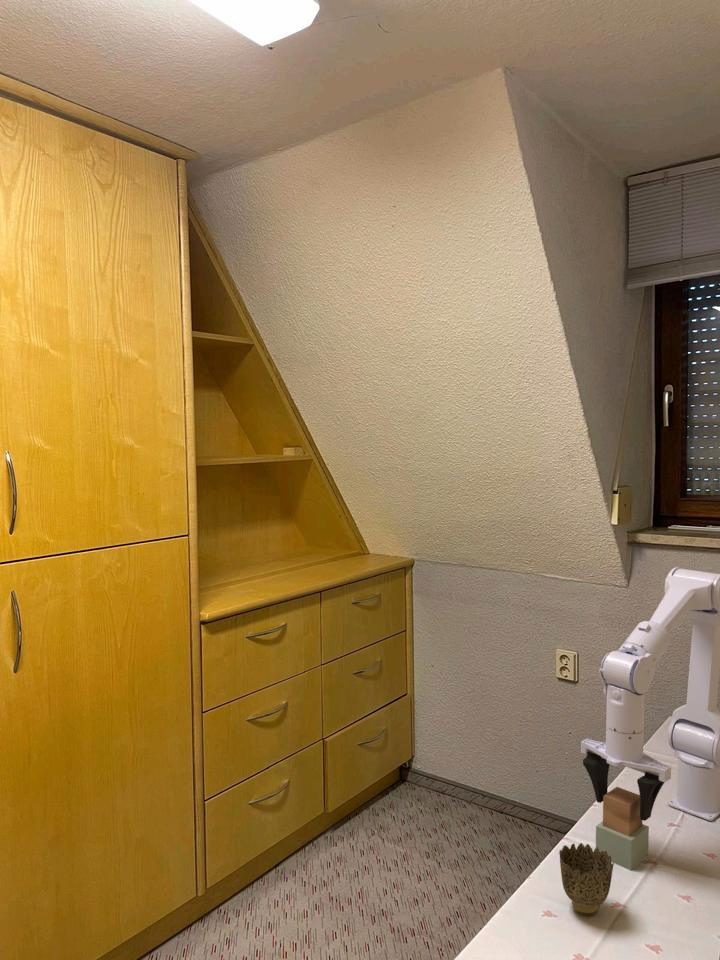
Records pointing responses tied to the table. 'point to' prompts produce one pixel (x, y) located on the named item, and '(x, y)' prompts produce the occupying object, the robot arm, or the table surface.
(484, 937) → the table surface
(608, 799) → the walnut block
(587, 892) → the cup
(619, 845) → the grey block
